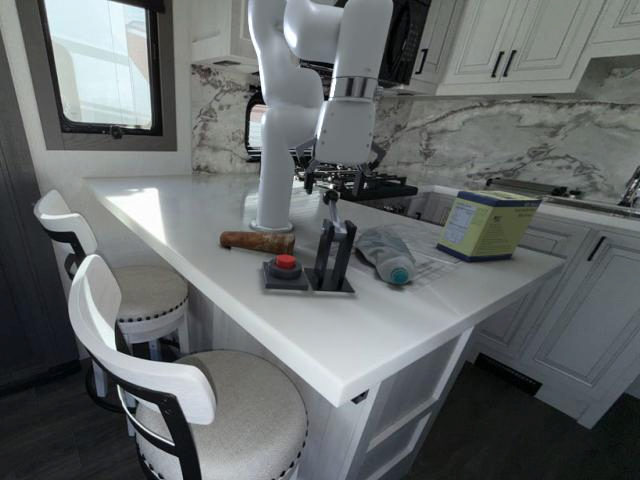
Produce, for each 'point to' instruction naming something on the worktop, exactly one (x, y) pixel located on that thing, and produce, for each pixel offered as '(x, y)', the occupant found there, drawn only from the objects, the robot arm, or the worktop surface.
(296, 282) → the button block
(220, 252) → the worktop surface
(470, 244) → the protein box
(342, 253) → the bracket
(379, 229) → the crushed plastic bottle
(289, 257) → the button
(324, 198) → the lever
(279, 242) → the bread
